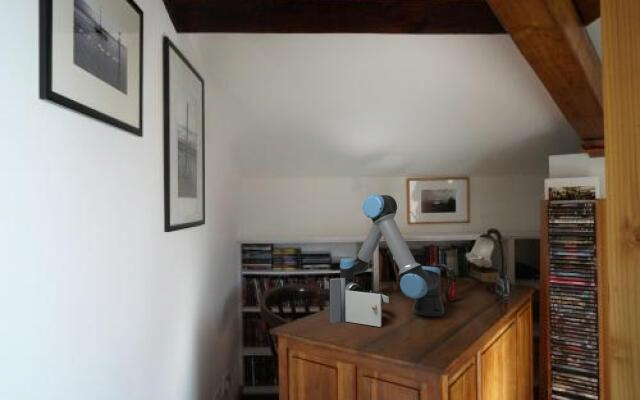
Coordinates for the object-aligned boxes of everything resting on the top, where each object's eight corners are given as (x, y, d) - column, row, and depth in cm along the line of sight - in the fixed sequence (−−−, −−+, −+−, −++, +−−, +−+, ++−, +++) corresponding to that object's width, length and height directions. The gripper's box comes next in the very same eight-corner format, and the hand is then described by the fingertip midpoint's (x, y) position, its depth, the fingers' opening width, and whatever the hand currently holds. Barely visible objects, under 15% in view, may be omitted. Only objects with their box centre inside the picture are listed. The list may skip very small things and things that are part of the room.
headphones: (460, 301, 207) (460, 265, 207) (450, 304, 200) (450, 267, 201) (434, 295, 220) (433, 261, 221) (423, 297, 214) (423, 263, 215)
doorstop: (370, 298, 183) (385, 286, 168) (374, 316, 178) (391, 305, 164) (353, 299, 180) (368, 287, 166) (358, 318, 175) (372, 307, 161)
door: (344, 322, 168) (343, 291, 168) (346, 320, 171) (346, 290, 171) (379, 327, 160) (379, 295, 160) (381, 326, 163) (381, 294, 163)
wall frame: (331, 323, 168) (331, 279, 168) (329, 322, 170) (329, 278, 170) (346, 322, 170) (346, 278, 170) (344, 320, 172) (343, 277, 173)
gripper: (376, 296, 194) (398, 306, 174) (333, 301, 185) (351, 312, 165) (376, 282, 194) (398, 290, 174) (332, 286, 185) (351, 295, 165)
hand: (375, 301), depth 170 cm, fingers open, 13 cm apart
